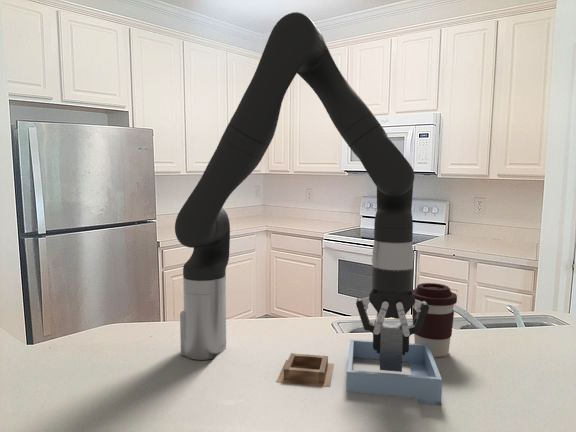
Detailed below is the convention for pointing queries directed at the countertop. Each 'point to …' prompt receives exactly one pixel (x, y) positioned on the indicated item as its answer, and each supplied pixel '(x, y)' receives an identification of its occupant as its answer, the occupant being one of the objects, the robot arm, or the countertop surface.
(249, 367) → the countertop surface
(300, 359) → the socket block
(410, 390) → the bin
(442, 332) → the coffee cup
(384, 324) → the grey rectangular peg
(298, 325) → the countertop surface
